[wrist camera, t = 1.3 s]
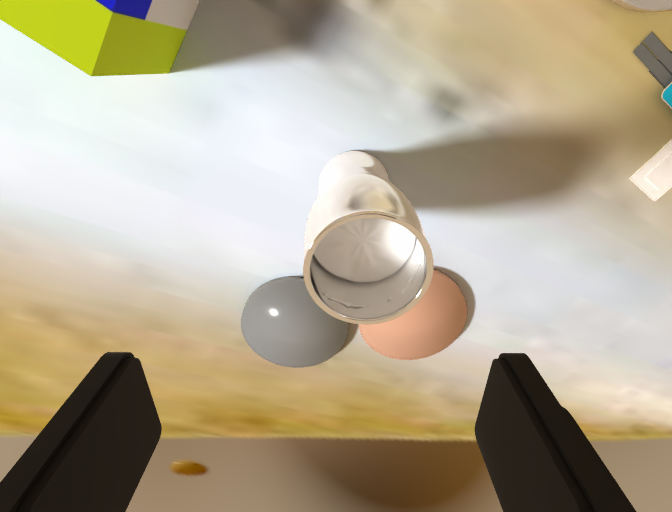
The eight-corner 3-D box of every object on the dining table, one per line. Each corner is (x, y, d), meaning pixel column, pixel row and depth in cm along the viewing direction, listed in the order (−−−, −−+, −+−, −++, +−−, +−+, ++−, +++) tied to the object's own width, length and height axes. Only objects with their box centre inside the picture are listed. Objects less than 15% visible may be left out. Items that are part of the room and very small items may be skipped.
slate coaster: (344, 272, 35) (344, 277, 35) (351, 357, 41) (352, 363, 40) (232, 281, 36) (230, 286, 35) (254, 364, 41) (252, 370, 40)
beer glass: (348, 126, 29) (361, 176, 16) (410, 180, 31) (467, 263, 18) (297, 192, 32) (271, 282, 18) (358, 237, 34) (374, 348, 20)
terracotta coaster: (468, 262, 35) (471, 267, 34) (460, 349, 40) (463, 356, 39) (354, 271, 35) (354, 276, 35) (360, 356, 41) (361, 363, 40)
